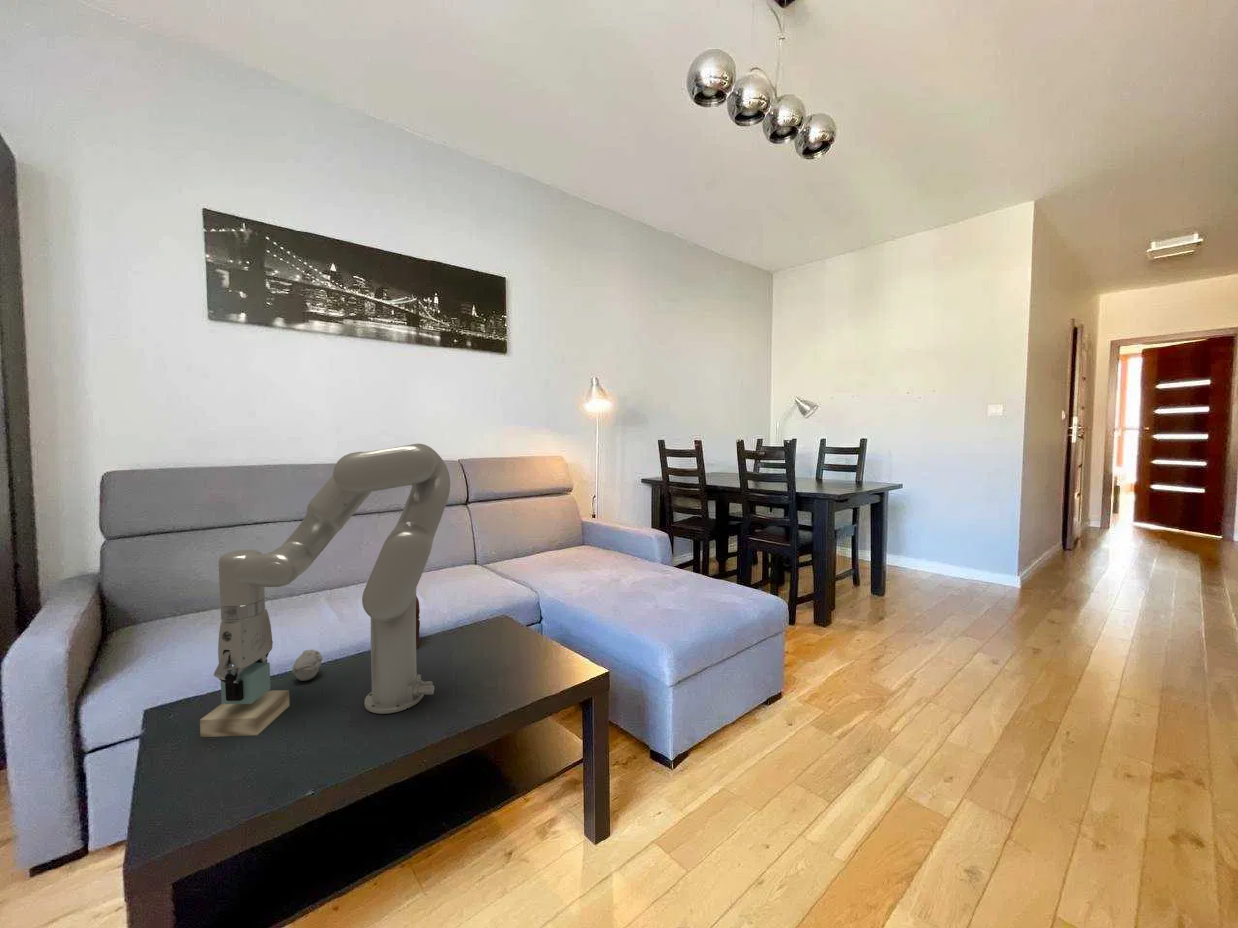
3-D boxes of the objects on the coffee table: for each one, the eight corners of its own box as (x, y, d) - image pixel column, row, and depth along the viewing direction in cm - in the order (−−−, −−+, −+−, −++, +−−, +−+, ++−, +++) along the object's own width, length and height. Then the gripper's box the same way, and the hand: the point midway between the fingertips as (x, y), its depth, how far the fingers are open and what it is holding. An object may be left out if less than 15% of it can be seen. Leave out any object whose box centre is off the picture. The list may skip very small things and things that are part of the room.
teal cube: (270, 688, 109) (269, 662, 108) (250, 703, 103) (249, 675, 102) (242, 689, 109) (241, 662, 108) (221, 703, 103) (220, 675, 102)
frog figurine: (328, 672, 127) (327, 646, 127) (309, 686, 120) (308, 658, 120) (306, 671, 128) (305, 645, 127) (285, 685, 121) (284, 657, 120)
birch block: (289, 707, 112) (288, 690, 112) (257, 736, 101) (256, 717, 101) (238, 708, 111) (237, 691, 111) (200, 738, 100) (199, 719, 100)
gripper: (230, 624, 96) (234, 714, 97) (287, 595, 113) (290, 671, 114) (191, 625, 96) (195, 714, 97) (254, 596, 113) (257, 672, 114)
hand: (246, 690), depth 106 cm, fingers closed on teal cube, 6 cm apart
